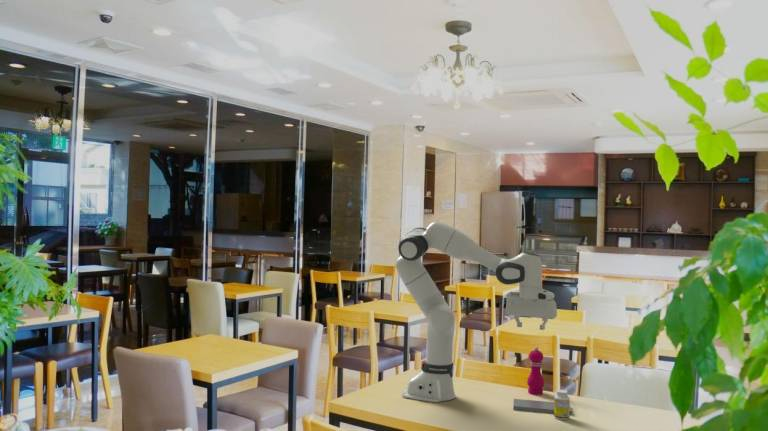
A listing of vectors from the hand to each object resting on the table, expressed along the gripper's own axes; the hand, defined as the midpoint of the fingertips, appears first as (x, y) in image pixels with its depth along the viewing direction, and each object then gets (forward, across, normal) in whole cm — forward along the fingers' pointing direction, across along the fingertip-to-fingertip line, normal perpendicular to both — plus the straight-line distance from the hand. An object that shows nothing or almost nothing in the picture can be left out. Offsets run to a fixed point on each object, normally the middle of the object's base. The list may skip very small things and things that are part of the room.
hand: (530, 328), depth 236 cm
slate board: (+32, +3, +4) cm, 33 cm away
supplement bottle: (+33, +13, -2) cm, 35 cm away
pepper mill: (+32, -8, +23) cm, 41 cm away
